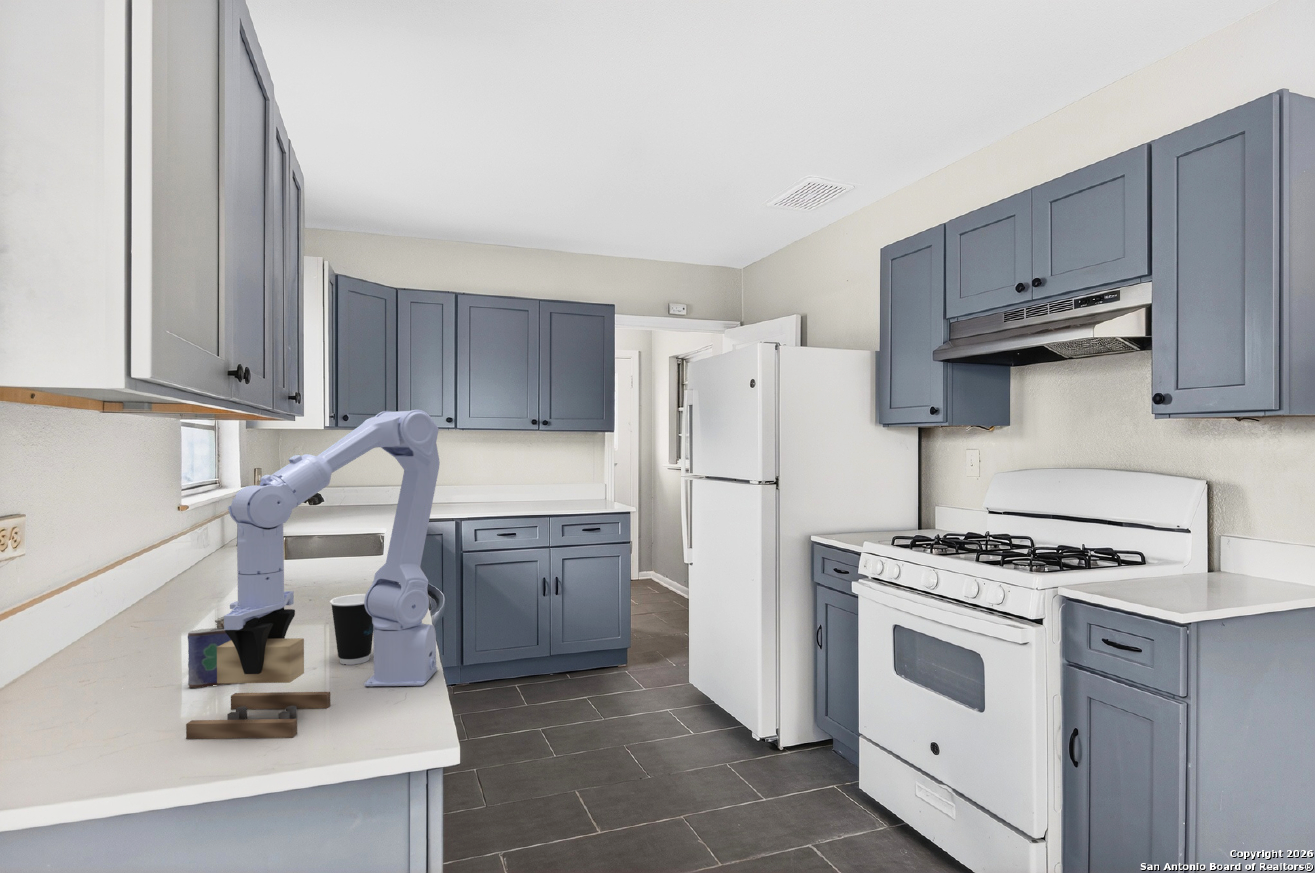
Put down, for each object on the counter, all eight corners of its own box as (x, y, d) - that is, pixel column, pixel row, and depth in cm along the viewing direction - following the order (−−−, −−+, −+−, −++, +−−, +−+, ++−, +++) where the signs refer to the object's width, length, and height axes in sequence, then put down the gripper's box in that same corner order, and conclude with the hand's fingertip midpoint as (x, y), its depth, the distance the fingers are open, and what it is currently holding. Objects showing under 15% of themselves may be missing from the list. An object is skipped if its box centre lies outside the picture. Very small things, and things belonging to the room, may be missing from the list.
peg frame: (330, 705, 107) (330, 691, 107) (292, 737, 96) (292, 722, 96) (235, 706, 107) (235, 692, 107) (186, 738, 95) (186, 723, 95)
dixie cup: (383, 662, 127) (382, 599, 127) (334, 670, 123) (334, 606, 123) (373, 651, 134) (372, 591, 134) (326, 658, 129) (326, 597, 129)
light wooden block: (304, 673, 103) (303, 638, 103) (289, 682, 99) (289, 646, 99) (234, 673, 103) (233, 638, 103) (217, 683, 99) (216, 646, 99)
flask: (186, 689, 114) (185, 622, 114) (191, 683, 117) (191, 617, 117) (252, 682, 117) (251, 616, 117) (255, 677, 120) (255, 612, 120)
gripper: (260, 562, 108) (260, 652, 108) (200, 581, 94) (201, 686, 94) (307, 561, 108) (308, 651, 108) (254, 581, 94) (255, 685, 94)
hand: (261, 667), depth 101 cm, fingers closed on light wooden block, 4 cm apart
